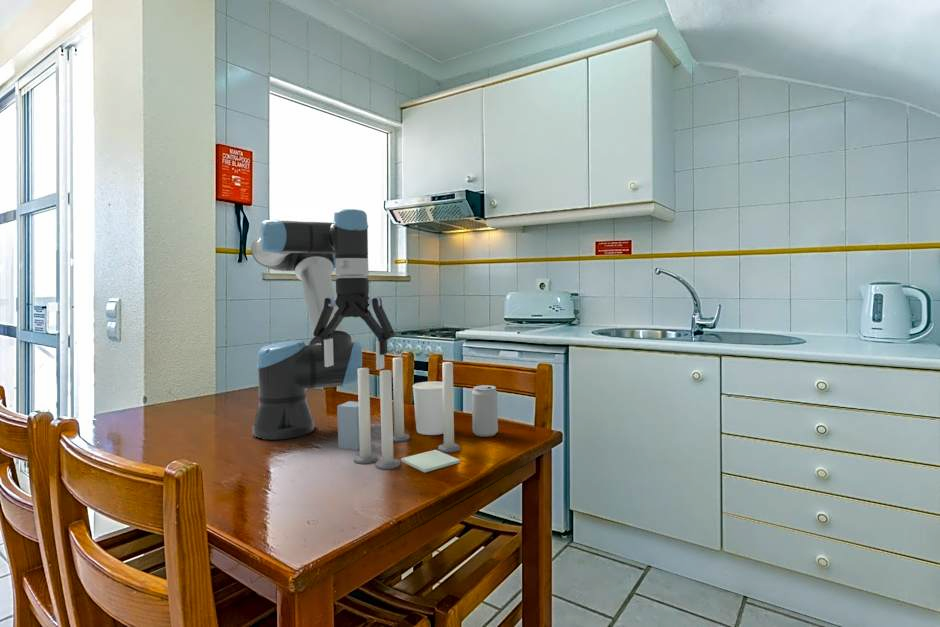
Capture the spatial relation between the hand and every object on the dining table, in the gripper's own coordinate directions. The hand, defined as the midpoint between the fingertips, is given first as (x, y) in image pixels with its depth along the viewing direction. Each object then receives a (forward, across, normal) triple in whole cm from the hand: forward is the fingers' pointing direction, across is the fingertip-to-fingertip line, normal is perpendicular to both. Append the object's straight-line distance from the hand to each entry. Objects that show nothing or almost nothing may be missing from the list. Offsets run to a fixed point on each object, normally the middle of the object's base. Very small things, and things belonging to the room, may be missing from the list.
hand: (354, 367), depth 123 cm
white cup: (+19, +13, +16) cm, 28 cm away
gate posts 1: (+18, +8, -1) cm, 20 cm away
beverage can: (+19, +27, +16) cm, 37 cm away
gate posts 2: (+18, +18, -4) cm, 26 cm away
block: (+19, 0, -1) cm, 19 cm away
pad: (+18, +22, -7) cm, 29 cm away
